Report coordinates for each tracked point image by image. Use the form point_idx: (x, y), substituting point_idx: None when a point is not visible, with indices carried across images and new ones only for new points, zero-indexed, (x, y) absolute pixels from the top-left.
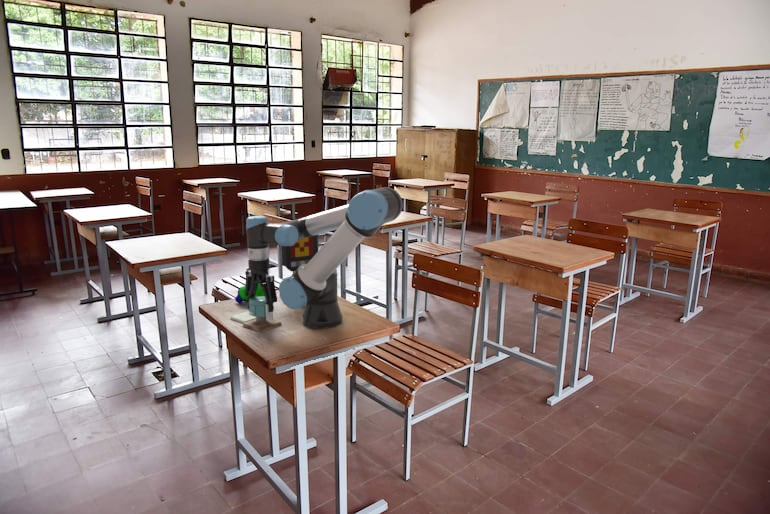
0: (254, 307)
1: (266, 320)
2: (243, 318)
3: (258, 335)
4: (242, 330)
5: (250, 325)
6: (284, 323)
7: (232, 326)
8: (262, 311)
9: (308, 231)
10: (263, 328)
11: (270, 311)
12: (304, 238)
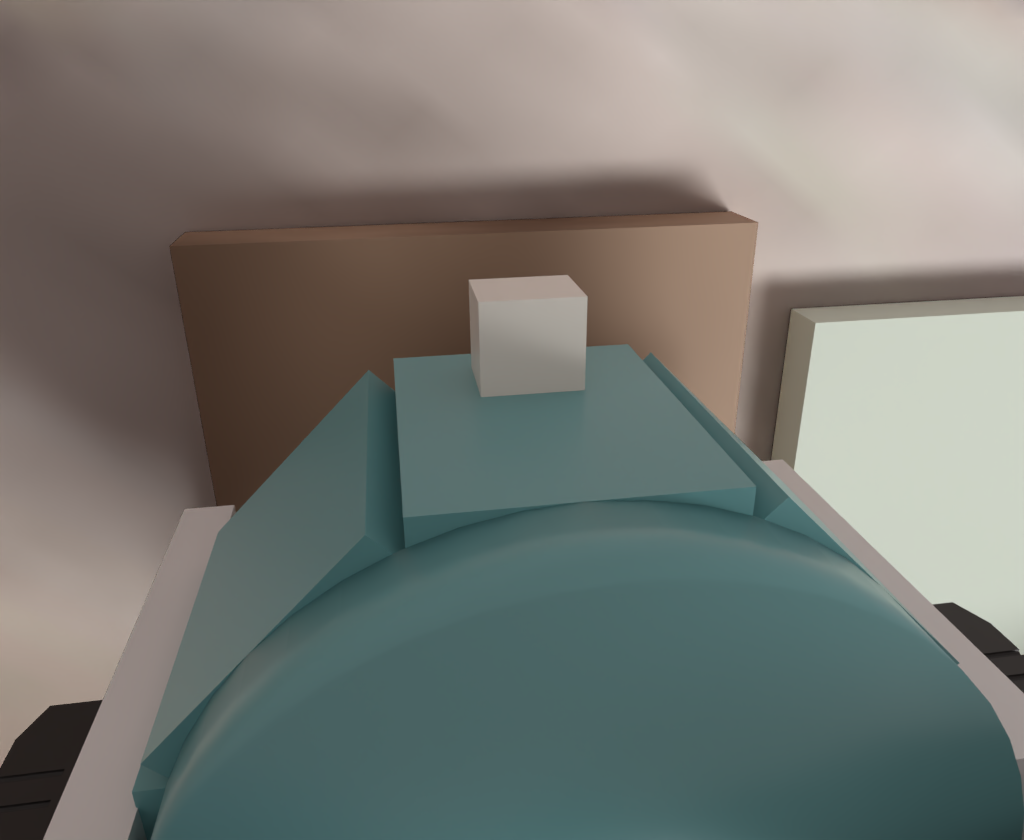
0: (418, 490)
1: (227, 508)
2: (943, 395)
3: (38, 92)
4: (561, 52)
5: (526, 247)
6: None
7: (898, 63)
8: (224, 582)
9: None
10: (188, 335)
11: (26, 729)
12: None
